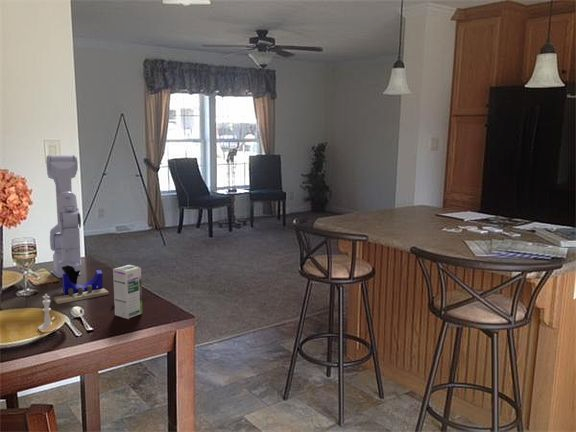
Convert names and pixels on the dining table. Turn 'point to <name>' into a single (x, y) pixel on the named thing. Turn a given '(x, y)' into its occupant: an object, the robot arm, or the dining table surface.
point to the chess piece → (46, 314)
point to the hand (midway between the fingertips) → (72, 286)
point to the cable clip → (95, 282)
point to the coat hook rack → (80, 294)
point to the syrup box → (127, 291)
